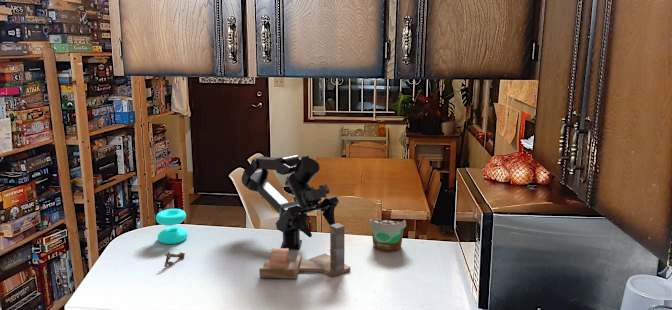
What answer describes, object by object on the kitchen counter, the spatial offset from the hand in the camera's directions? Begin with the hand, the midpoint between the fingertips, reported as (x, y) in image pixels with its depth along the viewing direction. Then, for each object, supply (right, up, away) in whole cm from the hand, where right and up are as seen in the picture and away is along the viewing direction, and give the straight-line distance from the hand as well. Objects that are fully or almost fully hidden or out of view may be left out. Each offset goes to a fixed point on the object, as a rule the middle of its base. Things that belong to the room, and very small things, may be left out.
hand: (323, 232), depth 155 cm
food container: (+21, -8, +12) cm, 25 cm away
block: (-13, -10, -2) cm, 17 cm away
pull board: (-8, -11, -2) cm, 13 cm away
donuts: (-53, -6, +21) cm, 57 cm away
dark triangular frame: (-47, -10, +4) cm, 48 cm away
